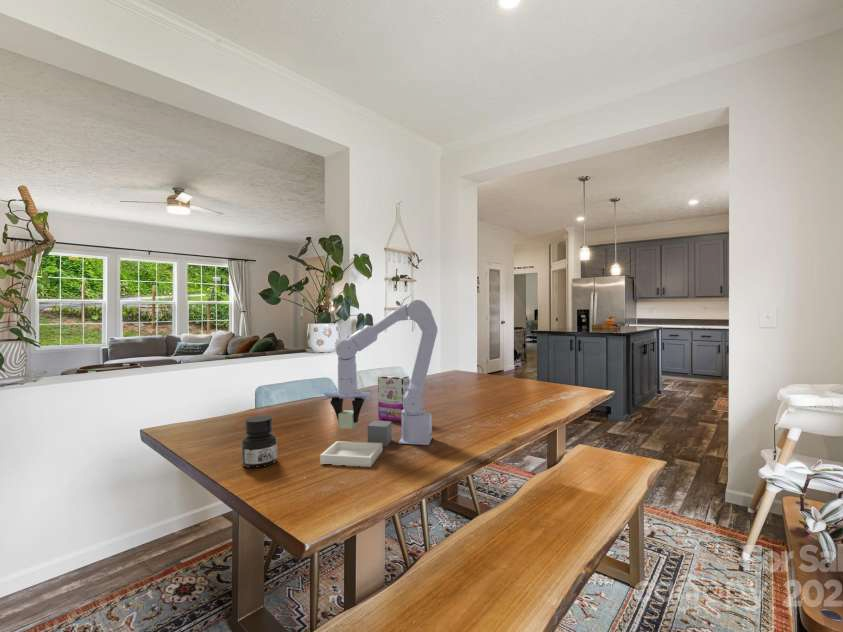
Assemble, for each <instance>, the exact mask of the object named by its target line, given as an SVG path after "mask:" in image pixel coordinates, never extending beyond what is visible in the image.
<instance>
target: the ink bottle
mask: <svg viewBox="0 0 843 632" xmlns="http://www.w3.org/2000/svg"><path fill="white" fill-rule="evenodd" d="M244 423H245V434H246V435H245V436H244V438H242V440H241V464H242V465H243V466H244V465H245V466H249V467H256V466H263V467H265V466H264V465H267V466H269V465H268V464H270V465H272V464H271V463H273V462H274V461H275V462H277V458H278V441H277V440H278V439H277V436H276V434H274V433H273V416H271V415H255V416H251V417H247V418H245V422H244ZM275 462H274V463H275ZM274 463H273V464H274ZM245 466H244V467H245ZM249 467H248V468H249Z"/></svg>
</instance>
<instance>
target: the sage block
mask: <svg viewBox="0 0 843 632" xmlns="http://www.w3.org/2000/svg"><path fill="white" fill-rule="evenodd" d="M353 417H354V412H353V409H351V410H349V409H347V410H346V409H344V410H343V409H342V412H340V413H339V414H338V419H337V421H338V420H339V422H338V429H346V430H347V429H349V430H350V429H351V430H353V429H354V428H355V427H356V426H358V422H357V423H354V419H353Z"/></svg>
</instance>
